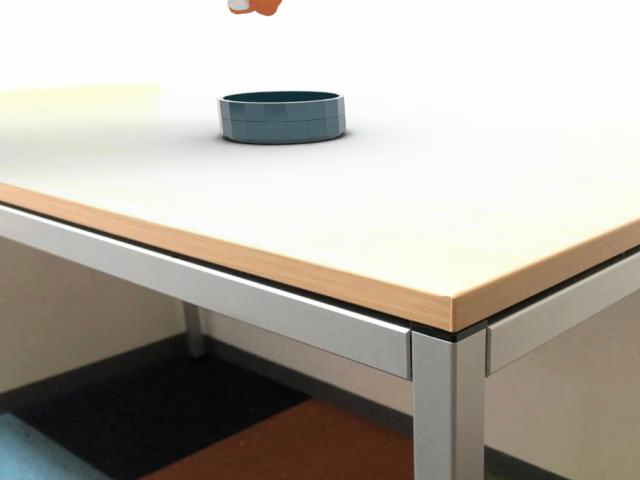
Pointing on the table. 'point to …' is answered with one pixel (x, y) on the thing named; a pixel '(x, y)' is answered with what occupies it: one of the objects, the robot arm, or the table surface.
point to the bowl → (282, 116)
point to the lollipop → (254, 6)
